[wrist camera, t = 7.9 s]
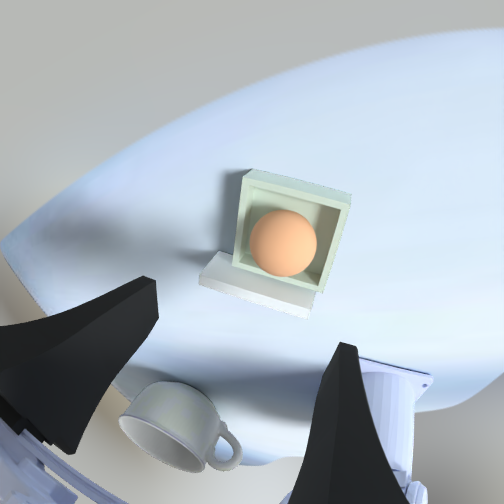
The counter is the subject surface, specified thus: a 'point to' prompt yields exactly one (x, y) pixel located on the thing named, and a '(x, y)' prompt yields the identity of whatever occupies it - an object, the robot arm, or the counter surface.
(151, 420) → the teacup
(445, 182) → the counter surface
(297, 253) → the ball
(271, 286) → the wall
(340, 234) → the tray
